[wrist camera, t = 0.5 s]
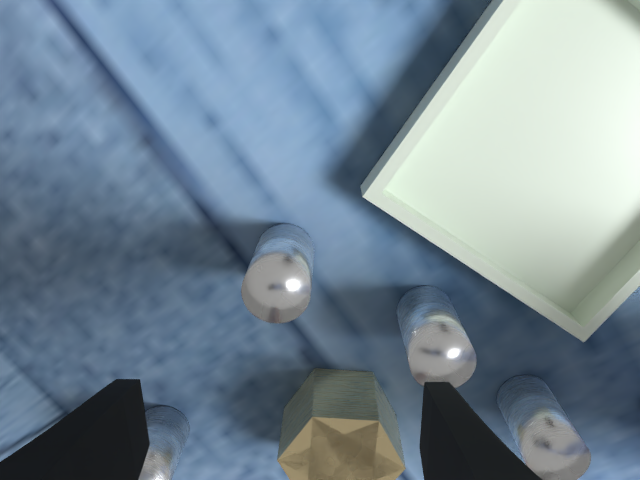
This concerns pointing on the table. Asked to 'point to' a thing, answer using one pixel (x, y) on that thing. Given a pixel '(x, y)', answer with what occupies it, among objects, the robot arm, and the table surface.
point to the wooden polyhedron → (340, 429)
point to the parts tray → (531, 157)
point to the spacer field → (422, 352)
